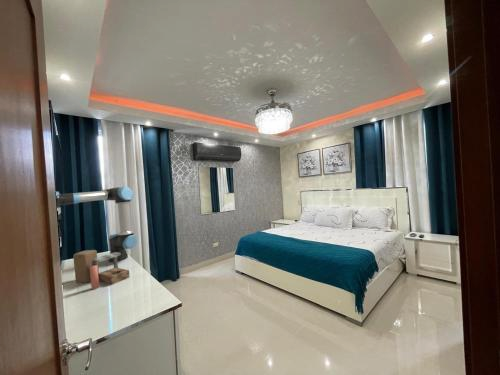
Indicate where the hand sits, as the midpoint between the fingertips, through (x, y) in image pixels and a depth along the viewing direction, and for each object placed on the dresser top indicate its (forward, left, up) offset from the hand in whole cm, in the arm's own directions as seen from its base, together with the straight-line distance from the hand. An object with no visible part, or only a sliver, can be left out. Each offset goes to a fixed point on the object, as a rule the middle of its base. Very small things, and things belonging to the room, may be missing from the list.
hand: (56, 245), depth 149 cm
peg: (-8, +30, -27) cm, 41 cm away
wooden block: (-13, +9, -28) cm, 32 cm away
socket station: (-21, +26, -27) cm, 43 cm away
